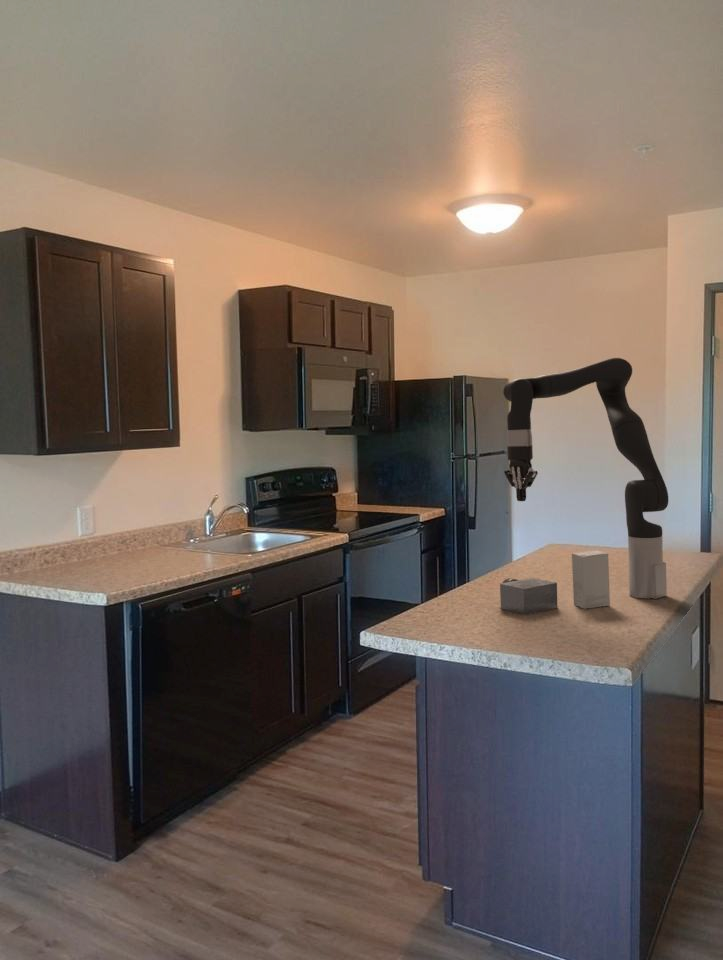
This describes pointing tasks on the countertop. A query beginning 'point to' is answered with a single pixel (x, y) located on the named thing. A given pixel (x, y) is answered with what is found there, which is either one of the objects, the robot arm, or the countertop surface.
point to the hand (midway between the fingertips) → (521, 500)
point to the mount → (528, 595)
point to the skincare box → (591, 579)
